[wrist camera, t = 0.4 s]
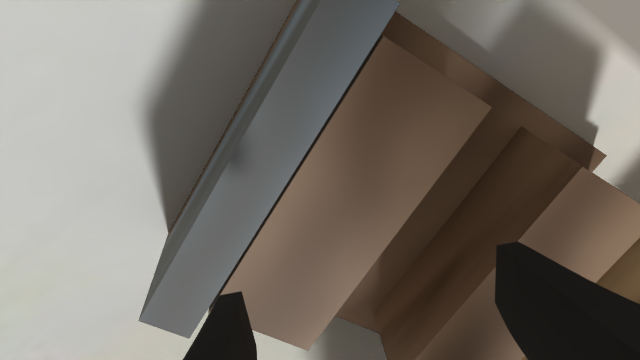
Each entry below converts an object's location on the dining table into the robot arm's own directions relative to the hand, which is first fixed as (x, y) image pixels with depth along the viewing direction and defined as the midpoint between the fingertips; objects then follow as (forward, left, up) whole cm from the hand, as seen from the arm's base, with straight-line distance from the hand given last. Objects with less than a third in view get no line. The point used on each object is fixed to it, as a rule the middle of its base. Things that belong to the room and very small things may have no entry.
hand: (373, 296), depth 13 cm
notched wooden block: (-3, -3, -10) cm, 11 cm away
